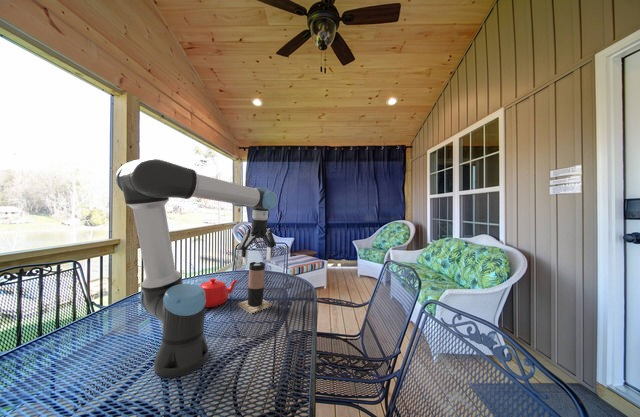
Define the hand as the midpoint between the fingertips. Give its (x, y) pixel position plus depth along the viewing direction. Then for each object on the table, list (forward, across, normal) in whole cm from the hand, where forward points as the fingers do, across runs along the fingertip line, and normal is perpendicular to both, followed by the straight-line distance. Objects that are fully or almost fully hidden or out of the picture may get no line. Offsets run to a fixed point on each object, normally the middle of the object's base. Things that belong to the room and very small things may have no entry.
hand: (257, 261), depth 117 cm
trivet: (+22, +1, 0) cm, 22 cm away
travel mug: (+21, +1, 0) cm, 21 cm away
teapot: (+23, -12, +17) cm, 31 cm away
